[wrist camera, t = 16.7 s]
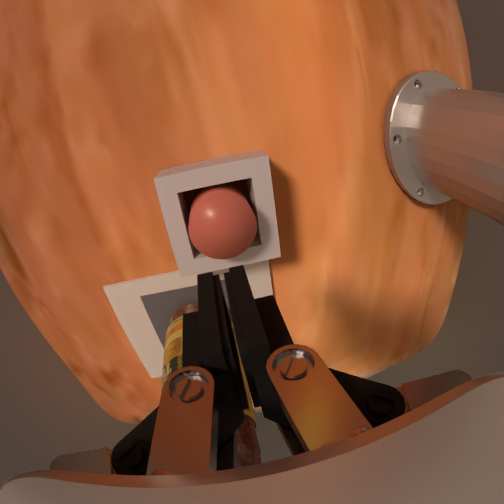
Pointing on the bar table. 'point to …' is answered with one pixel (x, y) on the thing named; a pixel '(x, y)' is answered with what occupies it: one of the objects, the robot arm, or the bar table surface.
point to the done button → (221, 222)
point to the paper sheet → (167, 306)
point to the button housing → (213, 173)
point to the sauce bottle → (246, 432)
